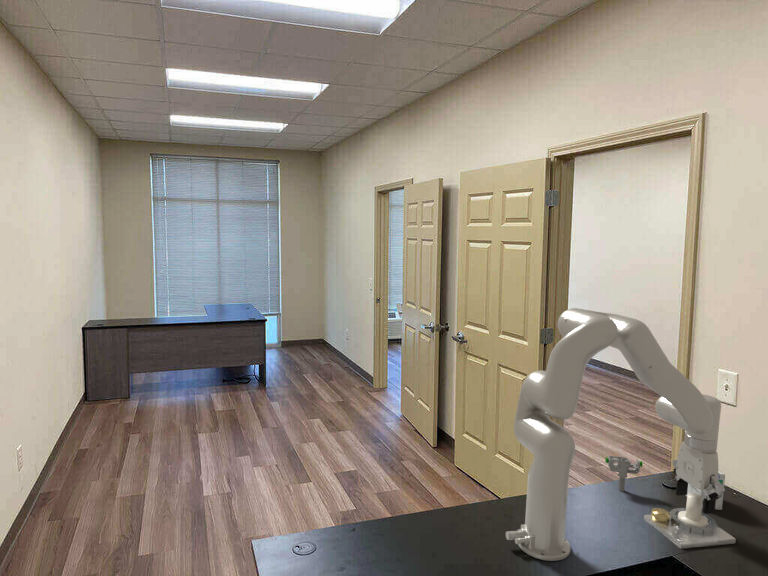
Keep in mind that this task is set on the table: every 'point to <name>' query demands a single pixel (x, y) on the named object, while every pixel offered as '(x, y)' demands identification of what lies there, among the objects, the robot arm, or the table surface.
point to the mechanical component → (623, 468)
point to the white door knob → (693, 511)
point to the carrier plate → (687, 529)
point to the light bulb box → (700, 492)
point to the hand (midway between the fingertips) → (694, 503)
